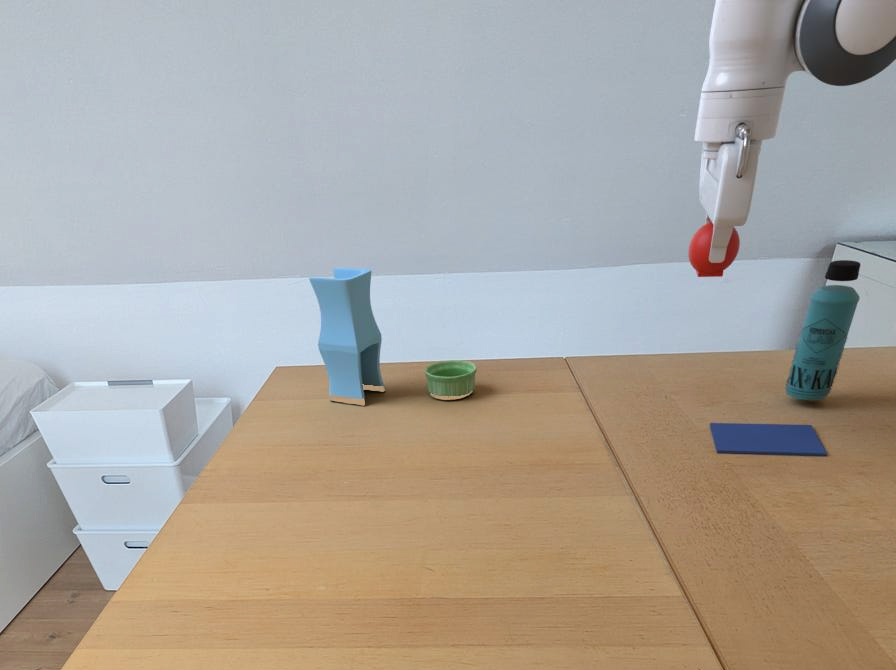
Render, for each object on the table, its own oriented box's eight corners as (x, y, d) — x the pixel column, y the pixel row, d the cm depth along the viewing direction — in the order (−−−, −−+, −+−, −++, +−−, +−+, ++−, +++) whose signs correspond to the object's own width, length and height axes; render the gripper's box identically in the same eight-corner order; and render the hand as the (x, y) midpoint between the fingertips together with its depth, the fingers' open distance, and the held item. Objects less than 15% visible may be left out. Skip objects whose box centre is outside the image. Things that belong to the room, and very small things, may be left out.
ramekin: (469, 382, 127) (468, 357, 125) (483, 398, 120) (482, 372, 118) (421, 388, 126) (419, 363, 124) (432, 405, 119) (431, 379, 117)
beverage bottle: (779, 394, 113) (815, 256, 101) (825, 396, 111) (867, 256, 99) (783, 409, 108) (821, 266, 96) (830, 411, 107) (876, 266, 94)
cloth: (810, 427, 102) (811, 424, 102) (825, 456, 95) (826, 453, 95) (709, 425, 105) (710, 422, 105) (716, 453, 98) (717, 450, 98)
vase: (350, 386, 130) (335, 267, 117) (386, 391, 126) (375, 269, 114) (326, 401, 124) (308, 278, 112) (363, 406, 121) (349, 280, 109)
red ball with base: (730, 268, 92) (742, 208, 88) (736, 279, 87) (749, 216, 83) (682, 269, 93) (692, 210, 89) (686, 280, 89) (696, 218, 84)
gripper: (782, 125, 72) (750, 273, 80) (753, 114, 87) (729, 239, 96) (717, 129, 73) (693, 274, 82) (700, 118, 89) (681, 241, 97)
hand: (712, 255), depth 89 cm, fingers closed on red ball with base, 6 cm apart
